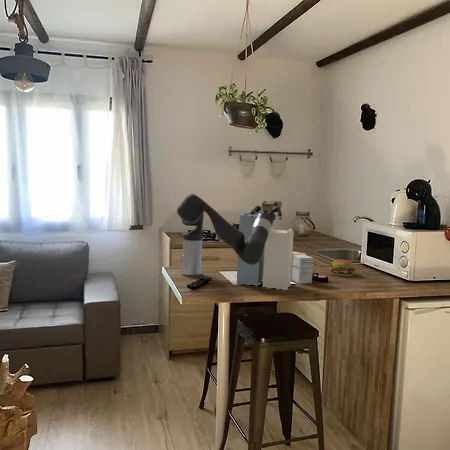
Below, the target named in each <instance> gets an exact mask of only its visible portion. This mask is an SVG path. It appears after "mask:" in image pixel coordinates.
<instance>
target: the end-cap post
mask: <svg viewBox="0 0 450 450" xmlns="http://www.w3.org/2000/svg"><path fill="white" fill-rule="evenodd" d="M294 233H295V232H294V230H293V228H290V229H288V230H286V229H274V226H272V228H271V231H270V233H269V235H268V237H267V240H266V242H265V254H264V272H263V281H262V288H263V287H267V288H266V289H271V288H276V289H275V290H280V289H282V290H281V291H287V290H289V288H290V286H291V281H292V277H291V266H292V252H293V249H294ZM288 287H289V288H288Z"/></svg>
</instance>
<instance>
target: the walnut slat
mask: <svg viewBox="0 0 450 450" xmlns="http://www.w3.org/2000/svg"><path fill="white" fill-rule="evenodd" d="M275 202H277V203H278V207H280V209H281V208H282V204H283V203H282V202H283V201H282V200H271V201H266V203H263V202H262V203H261V205H262V210H264V211H269V210H272V208H273V206H274V203H275ZM278 207H277V208H278Z"/></svg>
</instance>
